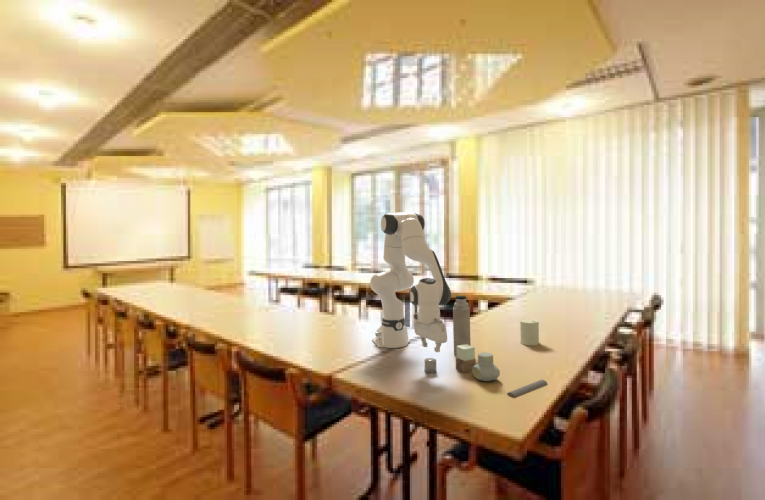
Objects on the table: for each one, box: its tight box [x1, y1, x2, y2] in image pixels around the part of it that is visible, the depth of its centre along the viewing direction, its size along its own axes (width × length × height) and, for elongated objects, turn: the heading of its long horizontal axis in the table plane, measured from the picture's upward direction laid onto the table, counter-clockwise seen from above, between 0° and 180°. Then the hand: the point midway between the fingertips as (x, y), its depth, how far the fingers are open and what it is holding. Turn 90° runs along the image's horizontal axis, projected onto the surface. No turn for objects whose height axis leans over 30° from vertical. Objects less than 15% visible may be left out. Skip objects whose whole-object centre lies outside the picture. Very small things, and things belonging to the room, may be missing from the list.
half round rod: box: [506, 379, 548, 398], centre depth 153 cm, size 4×20×2 cm, turn 124°
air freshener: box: [471, 351, 501, 382], centre depth 164 cm, size 11×8×10 cm
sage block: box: [456, 344, 476, 361], centre depth 176 cm, size 6×6×5 cm
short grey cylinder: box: [424, 357, 437, 374], centre depth 175 cm, size 5×5×5 cm
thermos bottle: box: [452, 295, 472, 356], centre depth 197 cm, size 8×8×28 cm
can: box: [519, 318, 540, 346], centre depth 212 cm, size 9×9×12 cm
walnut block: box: [455, 356, 477, 374], centre depth 176 cm, size 6×6×5 cm
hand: (431, 349), depth 175 cm, fingers open, 8 cm apart
